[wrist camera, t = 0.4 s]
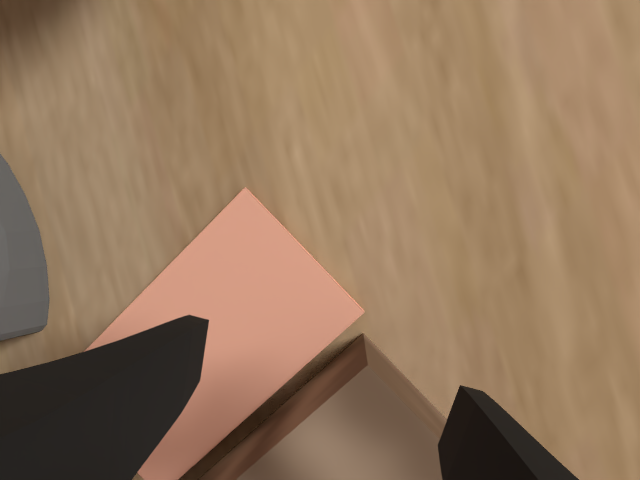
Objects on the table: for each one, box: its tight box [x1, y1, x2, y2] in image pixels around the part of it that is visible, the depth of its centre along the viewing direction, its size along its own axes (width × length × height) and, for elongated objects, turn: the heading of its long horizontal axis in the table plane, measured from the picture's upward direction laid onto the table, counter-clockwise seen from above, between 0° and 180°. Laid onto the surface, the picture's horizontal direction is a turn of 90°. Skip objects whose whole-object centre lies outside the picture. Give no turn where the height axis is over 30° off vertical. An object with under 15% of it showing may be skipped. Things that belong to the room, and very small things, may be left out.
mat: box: [84, 188, 364, 480], centre depth 20 cm, size 18×10×1 cm, turn 134°
